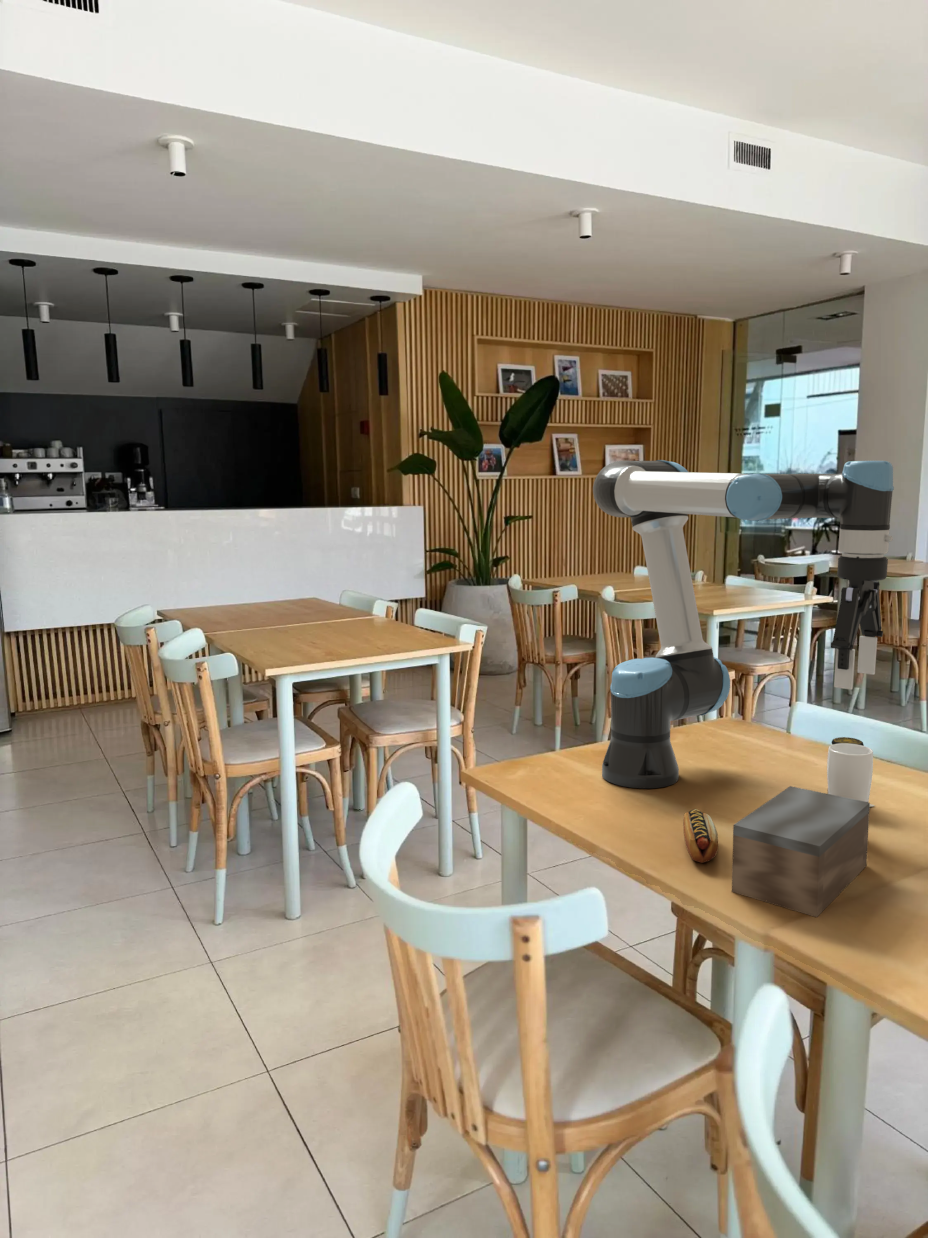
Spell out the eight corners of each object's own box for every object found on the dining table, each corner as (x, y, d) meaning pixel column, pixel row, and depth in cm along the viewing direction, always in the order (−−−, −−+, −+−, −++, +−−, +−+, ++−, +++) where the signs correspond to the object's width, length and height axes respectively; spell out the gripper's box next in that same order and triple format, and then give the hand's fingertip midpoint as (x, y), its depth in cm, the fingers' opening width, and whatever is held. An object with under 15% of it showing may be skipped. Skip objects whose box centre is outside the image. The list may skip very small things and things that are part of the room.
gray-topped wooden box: (731, 891, 124) (733, 825, 123) (788, 845, 140) (790, 786, 139) (816, 917, 116) (819, 846, 115) (866, 865, 132) (869, 802, 131)
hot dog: (711, 836, 145) (712, 807, 144) (721, 870, 132) (722, 838, 131) (681, 834, 146) (681, 806, 145) (687, 868, 133) (688, 837, 132)
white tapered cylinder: (816, 830, 146) (820, 743, 144) (855, 828, 147) (859, 742, 145) (837, 846, 139) (841, 756, 137) (877, 844, 140) (882, 754, 138)
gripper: (866, 562, 132) (857, 698, 135) (905, 551, 151) (897, 670, 154) (815, 559, 137) (808, 691, 140) (860, 549, 156) (852, 665, 159)
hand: (855, 680), depth 147 cm, fingers open, 13 cm apart
